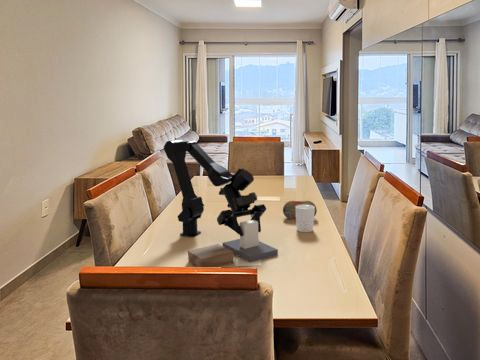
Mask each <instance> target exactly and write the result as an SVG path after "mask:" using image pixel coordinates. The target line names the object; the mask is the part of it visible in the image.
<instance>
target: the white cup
mask: <svg viewBox="0 0 480 360" xmlns="http://www.w3.org/2000/svg"><path fill="white" fill-rule="evenodd" d="M295 209H296V219H295V224H296V231H297V232H300V233H310V232H313V231H314V224H315V223H314V222H315V216H314V211H315V207H314V206H312V205H297V206H295Z"/></svg>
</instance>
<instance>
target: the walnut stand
mask: <svg viewBox="0 0 480 360" xmlns="http://www.w3.org/2000/svg"><path fill="white" fill-rule="evenodd" d="M187 255H188V256H187V260H188V263H189V264H191V265H192V266H193V267H195V268H197V267H216V268H219V267H224V266H227V265H231V264H234V254H233V251H231V250H229V249H227V248H225V247H223V245H222V244H219V243H217V244H212V245H207V246H203V247H198V248H195V249H190V250H187Z"/></svg>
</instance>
